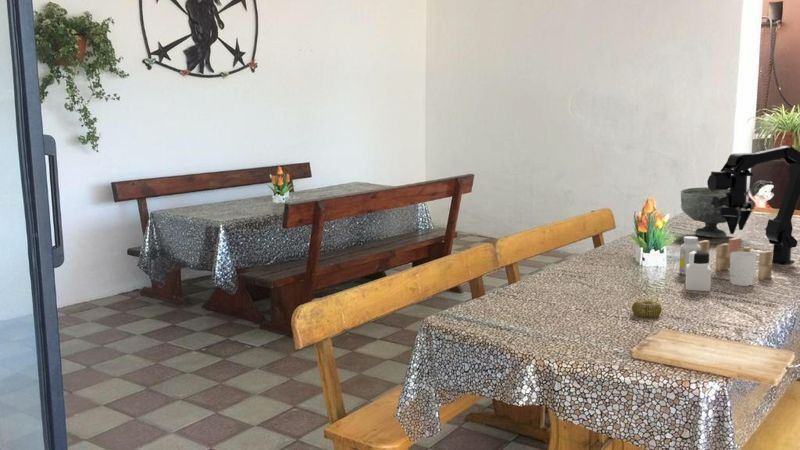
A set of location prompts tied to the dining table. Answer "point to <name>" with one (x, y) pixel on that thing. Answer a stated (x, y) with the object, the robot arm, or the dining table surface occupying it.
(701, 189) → the decorative bowl
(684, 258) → the supplement bottle
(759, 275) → the domino
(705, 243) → the domino
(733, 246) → the domino
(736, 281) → the white cup
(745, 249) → the domino
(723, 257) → the domino
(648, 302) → the olive green ribbed ring
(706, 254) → the medicine bottle
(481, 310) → the dining table surface
